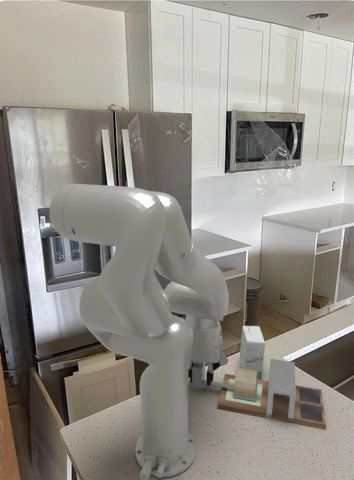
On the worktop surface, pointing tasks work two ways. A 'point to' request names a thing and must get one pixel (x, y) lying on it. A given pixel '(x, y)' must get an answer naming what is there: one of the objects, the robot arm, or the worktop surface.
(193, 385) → the grey dumbbell
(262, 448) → the worktop surface
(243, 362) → the ink box
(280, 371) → the tunnel
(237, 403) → the board
